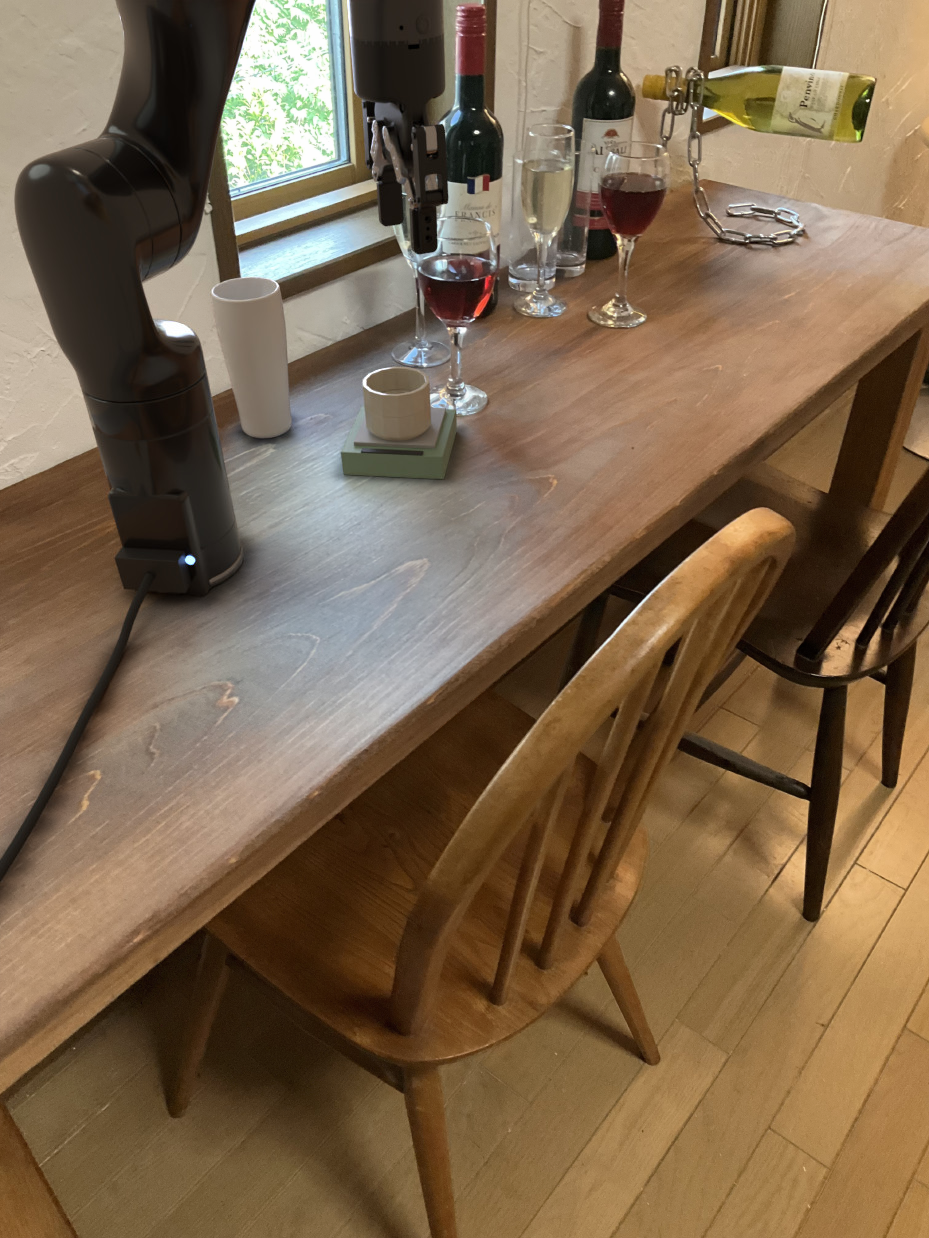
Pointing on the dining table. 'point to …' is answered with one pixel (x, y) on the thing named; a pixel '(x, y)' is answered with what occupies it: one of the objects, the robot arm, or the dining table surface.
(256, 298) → the drinking glass
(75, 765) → the dining table surface
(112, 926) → the dining table surface
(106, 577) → the dining table surface
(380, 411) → the beige cup
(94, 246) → the robot arm
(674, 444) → the dining table surface
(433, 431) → the scale
